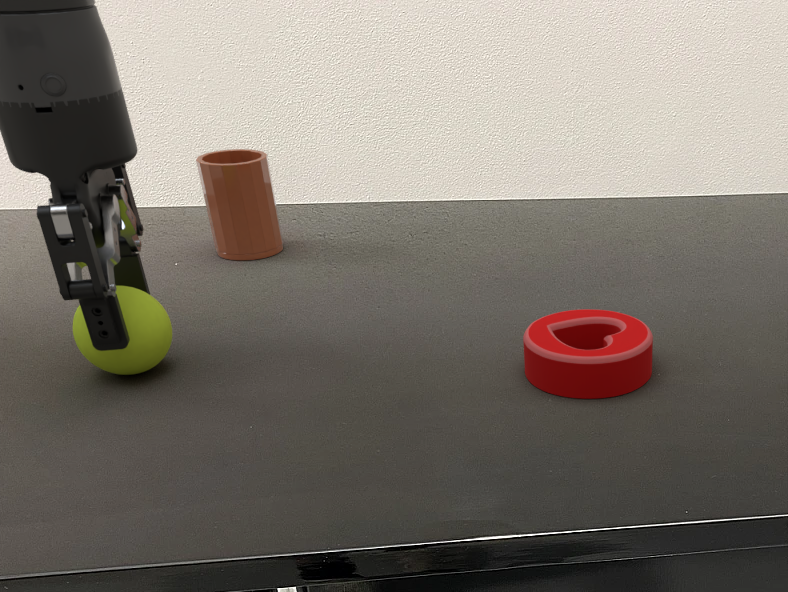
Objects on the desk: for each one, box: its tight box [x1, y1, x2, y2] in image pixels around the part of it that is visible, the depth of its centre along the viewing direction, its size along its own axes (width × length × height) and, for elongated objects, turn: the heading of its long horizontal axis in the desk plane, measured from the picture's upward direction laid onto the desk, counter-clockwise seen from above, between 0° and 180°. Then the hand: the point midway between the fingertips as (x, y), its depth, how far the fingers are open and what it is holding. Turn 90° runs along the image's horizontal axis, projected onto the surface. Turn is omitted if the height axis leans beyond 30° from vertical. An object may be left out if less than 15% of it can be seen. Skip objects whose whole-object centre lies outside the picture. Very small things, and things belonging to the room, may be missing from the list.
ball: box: [72, 286, 173, 376], centre depth 70 cm, size 6×6×6 cm
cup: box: [195, 148, 284, 261], centre depth 93 cm, size 6×6×9 cm
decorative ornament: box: [522, 308, 654, 400], centre depth 72 cm, size 10×10×3 cm
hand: (124, 324), depth 70 cm, fingers open, 8 cm apart
